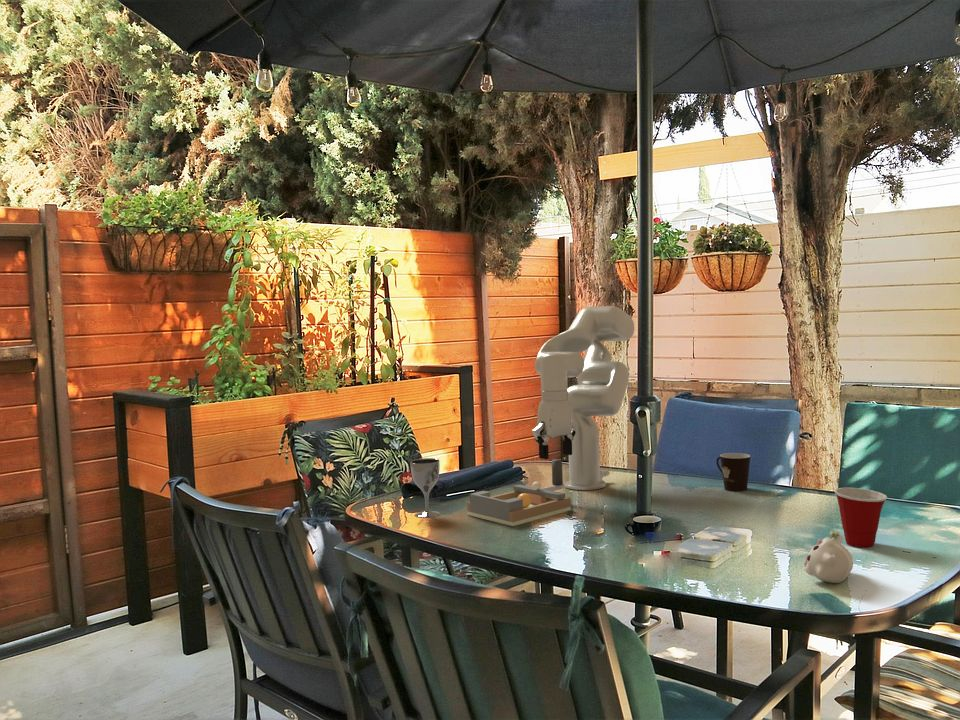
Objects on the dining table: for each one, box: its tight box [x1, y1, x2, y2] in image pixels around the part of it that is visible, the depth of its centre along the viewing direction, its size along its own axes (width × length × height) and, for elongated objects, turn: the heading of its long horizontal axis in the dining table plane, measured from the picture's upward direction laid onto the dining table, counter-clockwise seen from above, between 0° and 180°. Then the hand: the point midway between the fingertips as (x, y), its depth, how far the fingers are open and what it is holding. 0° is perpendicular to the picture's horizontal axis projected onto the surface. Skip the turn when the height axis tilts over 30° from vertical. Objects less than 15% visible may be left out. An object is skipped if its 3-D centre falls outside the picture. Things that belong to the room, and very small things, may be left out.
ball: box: [517, 493, 531, 508], centre depth 228 cm, size 4×4×4 cm
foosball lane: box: [466, 490, 572, 527], centre depth 227 cm, size 22×18×6 cm
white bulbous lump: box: [804, 530, 854, 584], centre depth 164 cm, size 10×8×15 cm
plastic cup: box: [834, 487, 888, 549], centre depth 186 cm, size 11×11×12 cm
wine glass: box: [410, 457, 441, 519], centre depth 228 cm, size 8×8×15 cm
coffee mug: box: [716, 452, 751, 493], centre depth 246 cm, size 12×9×10 cm
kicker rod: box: [512, 458, 566, 504], centre depth 234 cm, size 12×18×11 cm, turn 41°
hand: (555, 456), depth 236 cm, fingers open, 9 cm apart
